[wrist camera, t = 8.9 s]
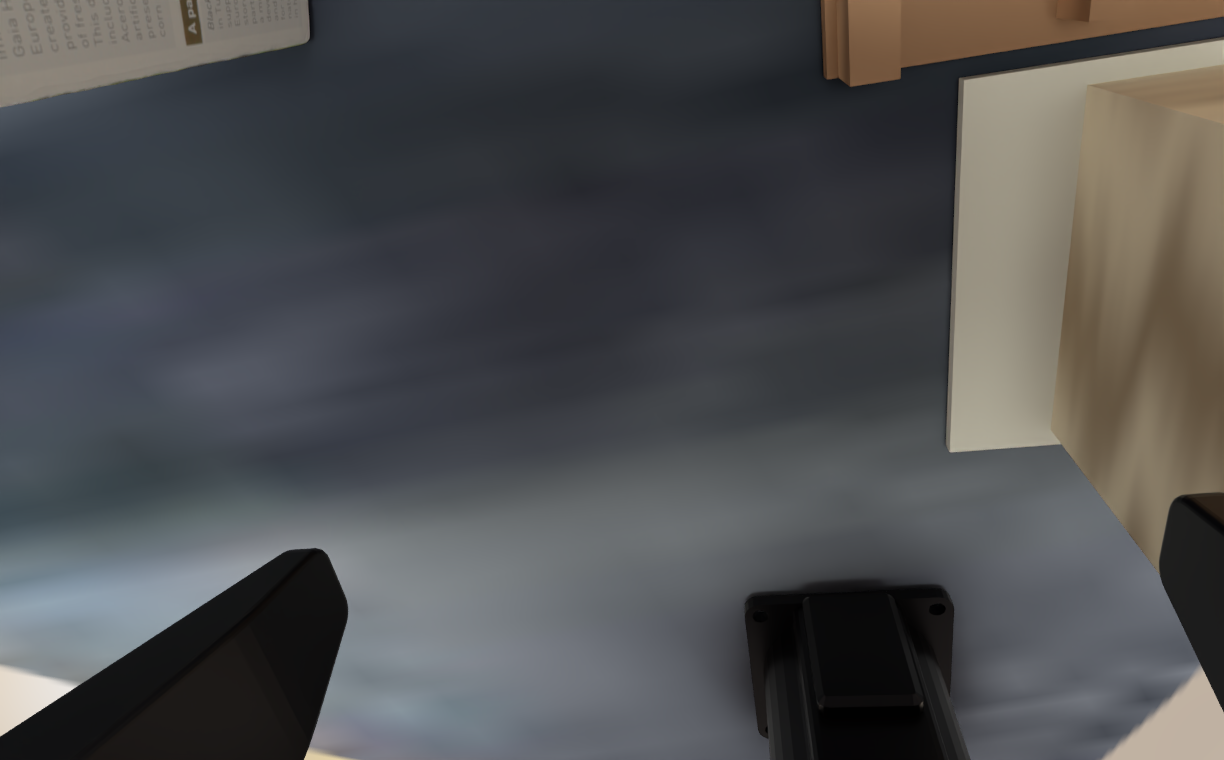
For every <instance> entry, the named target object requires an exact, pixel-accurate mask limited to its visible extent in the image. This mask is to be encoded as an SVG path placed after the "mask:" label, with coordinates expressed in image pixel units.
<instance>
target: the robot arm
mask: <svg viewBox="0 0 1224 760" xmlns="http://www.w3.org/2000/svg"><path fill="white" fill-rule="evenodd" d="M1159 572H1160V577H1161V580H1162V584H1163V586H1164V588H1165V590H1166V593H1167V595H1168V597H1169V599H1170V601H1171V603H1172V605H1173V607H1174V609H1175V611H1176V613H1177V616H1178V618H1179V620H1180V622H1181V624H1182V626H1183V628H1184V630H1185V632H1186V634H1187V636H1188V639H1189V641H1190V643H1191V645H1192V647H1193V649H1194V651H1195V653H1196V655H1197V657H1198V660H1199V662H1200V664H1201V666H1202V668H1203V670H1204V672H1205V674H1206V676H1207V678H1208V680H1209V682H1210V684H1211V687H1212V689H1213V690H1214V693H1215V695H1216V697H1217V699H1218V701H1219V704H1220V706H1221V707H1222V709H1223V712H1224V493H1223V492H1212V493H1196V494H1183V495H1180V496H1178V497H1176V498H1175V499H1174V500H1173V501H1172V503H1171V505H1170V508H1169V511H1168V516H1167V521H1166V526H1165V531H1164V536H1163V542H1162V547H1161V552H1160V557H1159ZM936 603H940V604H939V605H937V606H931V605H933V604H936ZM744 609H745V622H746V630H747V639H748V647H749V656H750V664H751V673H752V681H753V690H754V698H755V707H756V715H757V724H758V731H759V733H760V734H761V735H762V736H763V737H765V738H768V739H769V750H770V760H970V757H969V754H968V751H967V748H966V745H965V742H964V739H963V736H962V733H961V730H960V727H959V724H958V721H957V718H956V715H955V712H954V709H953V706H952V703H951V700H950V685H951V664H952V642H953V621H954V606H953V603H952V600H951V598H950V595H949V594H948V593H947V592H946V591H944V590H942V589H935V588H932V589H910V590H888V591H866V592H843V593H821V594H799V595H777V596H758V597H753V598H751V599H749V600H748V601H747V602H746V603H745V608H744ZM756 611H764V613H756ZM347 619H348V604H347V600H346V597H345V594H344V592H343V590H342V587H341V585H340V583H339V580H338V578H337V575H336V573H335V571H334V568H333V566H332V564H331V561H330V559H329V557H328V555H327V554H326V553H325V552H324V551H323V550H321V549H317V548H312V549H295V550H289V551H286V552H284V553H282V554H281V555H279V556H277V557H276V558H274V559H273V560H271V561H270V562H268V563H267V564H265V565H264V566H262V567H261V568H259V569H257V570H256V571H254V572H253V573H251V574H250V575H248V576H247V577H245V578H244V579H242V580H241V581H239V582H237V583H236V584H234V585H233V586H231V587H230V588H228V589H227V590H225V591H224V592H222V593H221V594H219V595H217V596H216V597H214V598H213V599H211V600H210V601H208V602H207V603H205V604H204V605H202V606H201V607H199V608H197V609H196V610H194V611H193V612H191V613H190V614H188V615H187V616H185V617H184V618H182V619H181V620H179V621H177V622H176V623H174V624H173V625H171V626H170V627H168V628H167V629H165V630H164V631H162V632H161V633H159V634H157V635H156V636H154V637H153V638H151V639H150V640H148V641H147V642H145V643H144V644H142V645H141V646H139V647H137V648H136V649H134V650H133V651H131V652H130V653H128V654H127V655H125V656H124V657H122V658H121V659H119V660H117V661H116V662H114V663H113V664H111V665H110V666H108V667H107V668H105V669H104V670H102V671H101V672H99V673H97V674H96V675H94V676H93V677H91V678H90V679H88V680H87V681H85V682H84V683H82V684H81V685H79V686H77V687H76V688H74V689H73V690H71V691H70V692H68V693H67V694H65V695H64V696H62V697H61V698H59V699H57V700H56V701H54V702H53V703H51V704H50V705H48V706H47V707H45V708H44V709H42V710H41V711H39V712H37V713H36V714H34V715H33V716H31V717H30V718H28V719H27V720H25V721H24V722H22V723H21V724H19V725H17V726H16V727H14V728H13V729H12V730H10V731H8V732H7V733H5V734H4V735H2V736H1V737H0V760H304V758H305V756H306V753H307V750H308V748H309V745H310V742H311V739H312V736H313V733H314V730H315V727H316V724H317V721H318V718H319V714H320V711H321V707H322V704H323V701H324V697H325V694H326V691H327V687H328V684H329V681H330V677H331V674H332V670H333V667H334V664H335V660H336V657H337V654H338V650H339V647H340V644H341V640H342V637H343V633H344V630H345V627H346V623H347Z"/></svg>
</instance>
